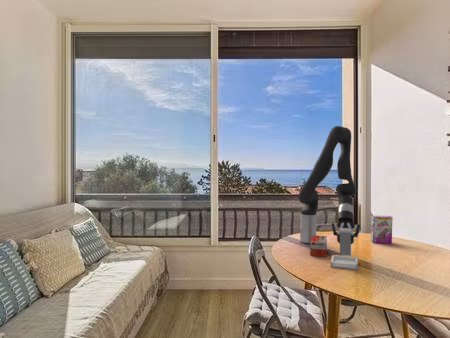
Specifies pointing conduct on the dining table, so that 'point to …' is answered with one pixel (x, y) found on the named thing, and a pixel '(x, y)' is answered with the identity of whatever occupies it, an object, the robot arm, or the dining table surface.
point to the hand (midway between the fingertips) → (345, 242)
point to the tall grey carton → (345, 241)
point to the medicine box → (318, 245)
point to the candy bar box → (381, 229)
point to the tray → (344, 262)
